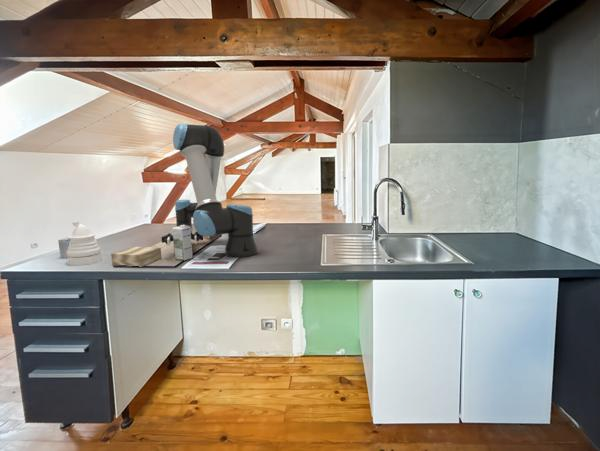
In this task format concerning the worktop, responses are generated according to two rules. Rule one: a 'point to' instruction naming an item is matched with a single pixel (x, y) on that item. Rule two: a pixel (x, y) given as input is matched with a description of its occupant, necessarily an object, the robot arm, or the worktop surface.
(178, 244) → the syrup box
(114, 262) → the birch block
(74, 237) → the honey pot
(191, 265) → the worktop surface
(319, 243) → the worktop surface
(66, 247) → the medicine box
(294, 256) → the worktop surface
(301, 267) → the worktop surface
